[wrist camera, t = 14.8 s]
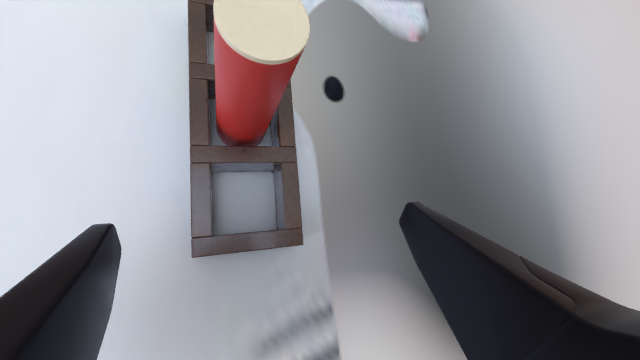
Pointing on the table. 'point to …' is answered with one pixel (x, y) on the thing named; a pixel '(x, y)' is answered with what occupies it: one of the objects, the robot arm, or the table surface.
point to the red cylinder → (254, 63)
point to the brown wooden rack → (235, 155)
